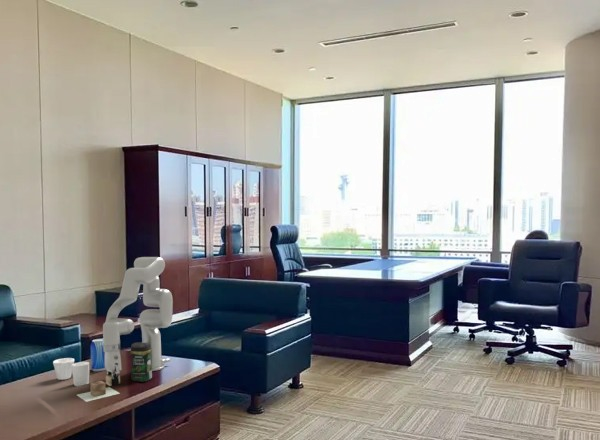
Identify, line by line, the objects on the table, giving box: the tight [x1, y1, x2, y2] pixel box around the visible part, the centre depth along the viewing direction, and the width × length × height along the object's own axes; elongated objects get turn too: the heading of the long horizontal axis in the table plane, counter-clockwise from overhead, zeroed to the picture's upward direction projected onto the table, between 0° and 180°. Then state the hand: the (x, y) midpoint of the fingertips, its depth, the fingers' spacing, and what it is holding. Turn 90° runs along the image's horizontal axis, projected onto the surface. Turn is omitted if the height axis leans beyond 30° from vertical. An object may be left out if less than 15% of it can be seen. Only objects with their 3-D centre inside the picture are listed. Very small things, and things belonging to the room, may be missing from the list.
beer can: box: [89, 338, 107, 372], centre depth 281 cm, size 8×8×16 cm
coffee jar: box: [130, 341, 153, 383], centre depth 259 cm, size 10×8×19 cm
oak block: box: [105, 374, 121, 387], centre depth 251 cm, size 5×5×5 cm
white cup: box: [72, 361, 90, 387], centre depth 256 cm, size 8×8×10 cm
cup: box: [52, 357, 75, 381], centre depth 267 cm, size 10×10×9 cm
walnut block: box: [89, 380, 107, 397], centre depth 235 cm, size 5×5×5 cm
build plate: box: [76, 386, 121, 403], centre depth 235 cm, size 15×13×1 cm
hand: (113, 385), depth 251 cm, fingers closed on oak block, 5 cm apart
